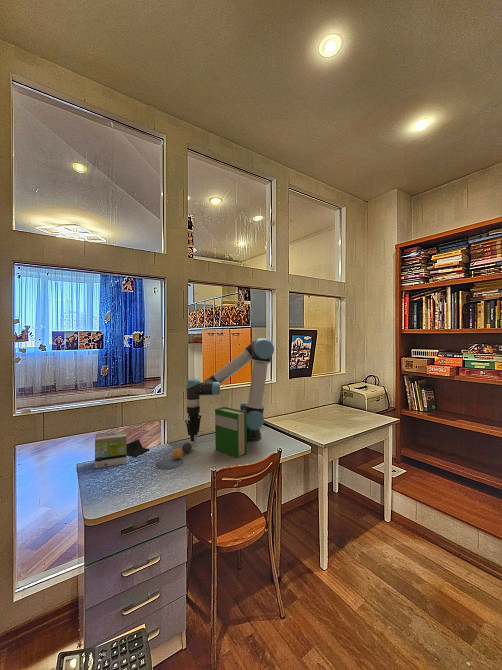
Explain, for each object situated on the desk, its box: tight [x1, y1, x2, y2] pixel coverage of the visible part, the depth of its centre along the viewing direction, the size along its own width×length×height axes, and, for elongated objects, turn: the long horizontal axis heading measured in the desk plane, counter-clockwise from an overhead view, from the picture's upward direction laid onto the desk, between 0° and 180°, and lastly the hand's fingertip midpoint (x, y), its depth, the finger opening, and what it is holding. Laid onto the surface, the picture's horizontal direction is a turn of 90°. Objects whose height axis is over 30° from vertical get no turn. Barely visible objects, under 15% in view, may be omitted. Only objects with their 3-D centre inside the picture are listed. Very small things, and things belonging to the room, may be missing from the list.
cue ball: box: [181, 442, 193, 454], centre depth 174 cm, size 6×6×6 cm
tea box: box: [94, 430, 127, 469], centre depth 162 cm, size 15×10×15 cm, turn 114°
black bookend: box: [126, 439, 151, 458], centre depth 176 cm, size 12×7×10 cm
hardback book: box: [214, 406, 248, 460], centre depth 174 cm, size 18×7×24 cm, turn 49°
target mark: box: [155, 457, 184, 470], centre depth 160 cm, size 14×14×1 cm
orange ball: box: [171, 447, 184, 459], centre depth 166 cm, size 6×6×6 cm
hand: (193, 446), depth 179 cm, fingers closed
